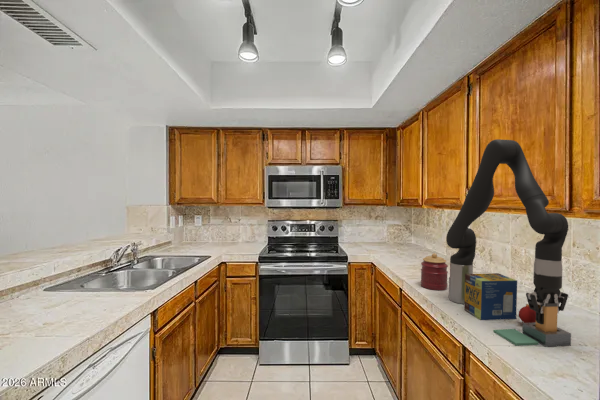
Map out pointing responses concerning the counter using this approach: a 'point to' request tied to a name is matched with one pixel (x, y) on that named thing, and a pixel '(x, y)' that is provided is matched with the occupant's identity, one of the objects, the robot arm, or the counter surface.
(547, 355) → the counter surface
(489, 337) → the counter surface
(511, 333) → the mat
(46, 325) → the counter surface
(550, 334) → the gray square frame
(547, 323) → the plug
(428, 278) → the canister
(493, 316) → the protein box
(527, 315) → the red onion
